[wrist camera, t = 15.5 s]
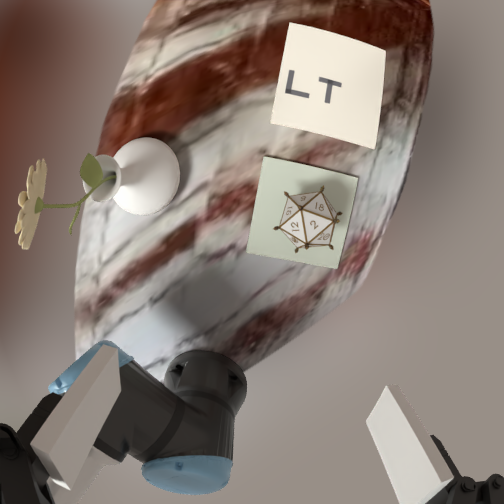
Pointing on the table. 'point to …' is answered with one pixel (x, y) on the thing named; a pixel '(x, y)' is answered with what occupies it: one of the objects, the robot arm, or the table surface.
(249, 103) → the table surface
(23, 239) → the flower in vase
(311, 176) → the sage mat
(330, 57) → the card
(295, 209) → the game die
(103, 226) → the table surface
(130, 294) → the table surface
